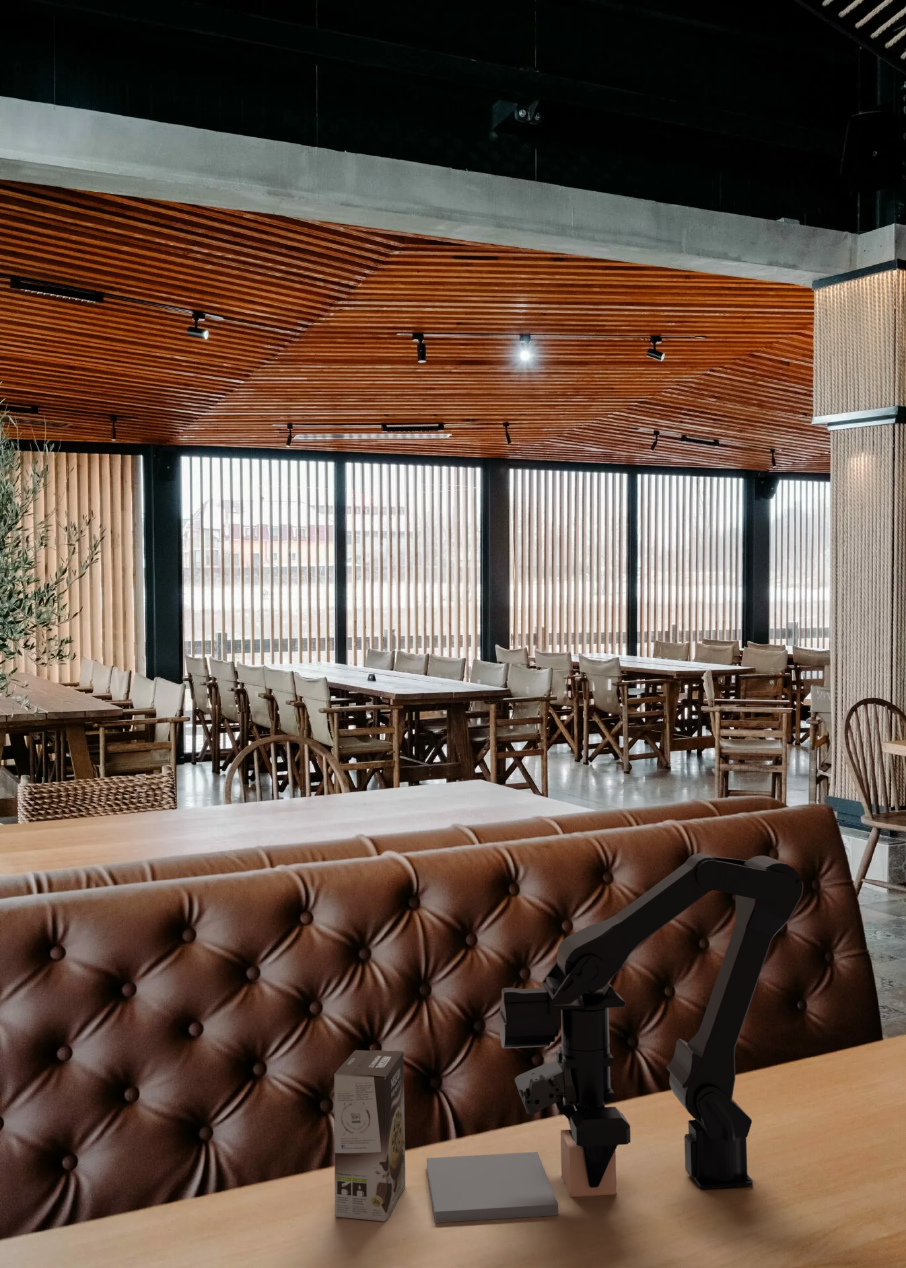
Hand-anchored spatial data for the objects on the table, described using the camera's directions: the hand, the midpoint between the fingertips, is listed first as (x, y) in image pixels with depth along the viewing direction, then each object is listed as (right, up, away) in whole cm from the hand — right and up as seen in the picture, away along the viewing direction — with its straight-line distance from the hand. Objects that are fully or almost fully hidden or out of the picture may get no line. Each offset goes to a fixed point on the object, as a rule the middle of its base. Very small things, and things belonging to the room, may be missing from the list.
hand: (588, 1175), depth 131 cm
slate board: (-12, -1, -1) cm, 12 cm away
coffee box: (-26, -2, -3) cm, 26 cm away
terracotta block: (0, -1, 0) cm, 1 cm away
